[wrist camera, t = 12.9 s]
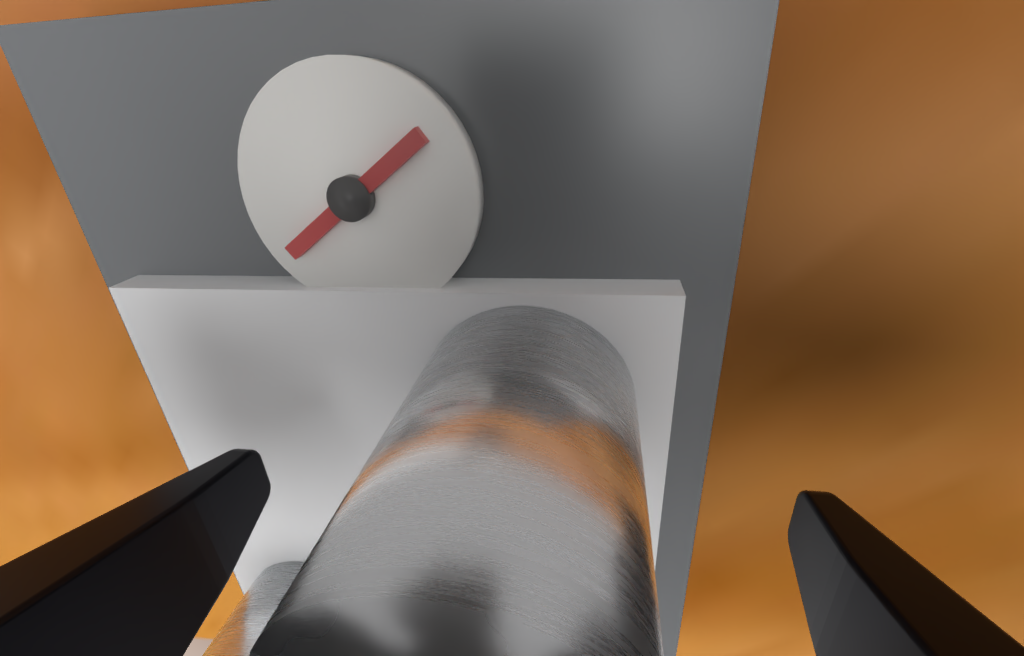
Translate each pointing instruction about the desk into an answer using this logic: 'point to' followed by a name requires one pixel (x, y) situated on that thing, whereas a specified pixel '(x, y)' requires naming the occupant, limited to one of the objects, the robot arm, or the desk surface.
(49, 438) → the desk surface
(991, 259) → the desk surface
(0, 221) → the desk surface
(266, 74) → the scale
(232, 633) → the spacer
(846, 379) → the desk surface
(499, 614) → the spacer
